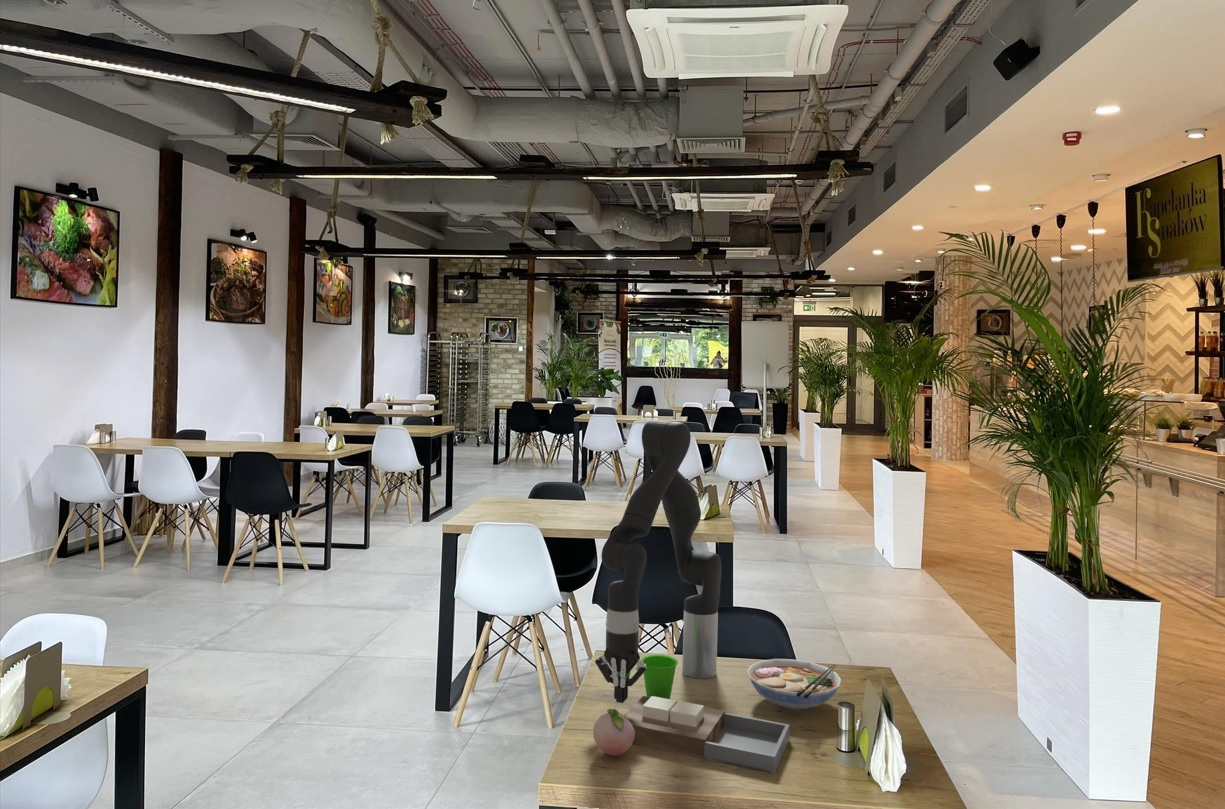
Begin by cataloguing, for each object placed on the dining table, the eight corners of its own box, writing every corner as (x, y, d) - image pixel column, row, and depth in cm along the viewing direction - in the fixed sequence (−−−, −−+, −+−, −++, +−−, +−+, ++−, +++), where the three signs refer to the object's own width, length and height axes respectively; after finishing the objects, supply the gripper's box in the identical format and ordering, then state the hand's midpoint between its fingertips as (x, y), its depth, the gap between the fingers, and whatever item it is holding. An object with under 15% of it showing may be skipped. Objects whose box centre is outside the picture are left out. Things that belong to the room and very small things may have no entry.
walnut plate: (642, 712, 191) (643, 695, 191) (724, 728, 184) (724, 710, 183) (617, 739, 177) (617, 722, 176) (704, 758, 169) (705, 739, 169)
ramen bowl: (769, 678, 215) (770, 648, 214) (854, 699, 202) (855, 667, 201) (728, 709, 194) (729, 676, 194) (819, 735, 181) (821, 699, 181)
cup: (633, 707, 194) (634, 663, 193) (649, 695, 202) (650, 652, 201) (667, 716, 189) (668, 670, 189) (682, 702, 197) (683, 658, 197)
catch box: (724, 727, 184) (724, 712, 184) (789, 740, 178) (789, 724, 178) (704, 758, 169) (704, 742, 168) (774, 773, 163) (774, 756, 163)
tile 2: (678, 711, 182) (678, 700, 182) (703, 716, 180) (704, 705, 180) (669, 722, 177) (670, 710, 177) (696, 727, 175) (696, 715, 175)
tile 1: (651, 706, 185) (651, 695, 185) (676, 711, 183) (676, 700, 183) (642, 716, 179) (642, 705, 179) (667, 721, 177) (668, 710, 177)
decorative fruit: (586, 750, 171) (587, 704, 171) (620, 743, 175) (621, 698, 174) (603, 770, 163) (604, 722, 163) (639, 763, 166) (640, 715, 166)
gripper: (655, 626, 185) (653, 700, 185) (602, 619, 190) (601, 690, 191) (643, 636, 178) (641, 713, 179) (589, 627, 183) (587, 702, 184)
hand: (620, 701), depth 185 cm, fingers closed
